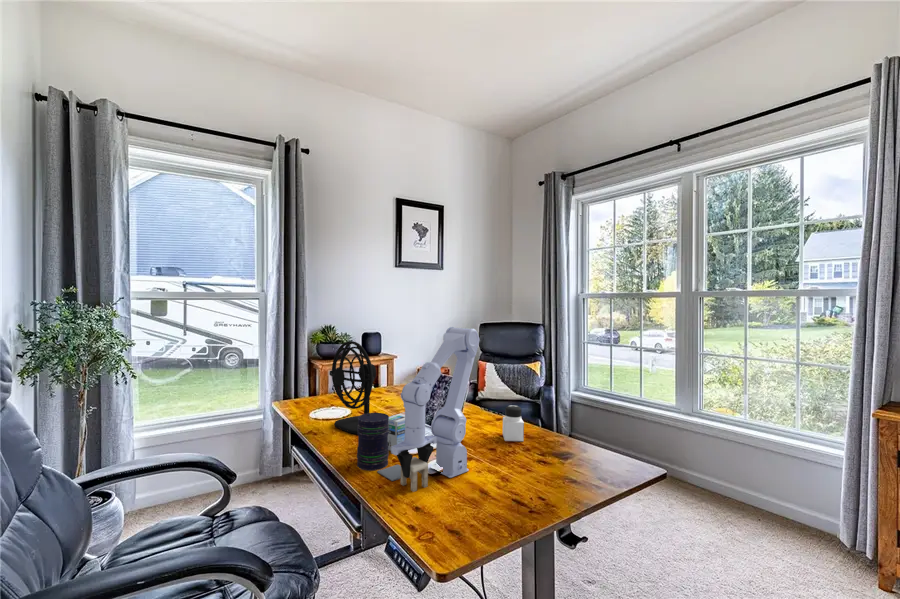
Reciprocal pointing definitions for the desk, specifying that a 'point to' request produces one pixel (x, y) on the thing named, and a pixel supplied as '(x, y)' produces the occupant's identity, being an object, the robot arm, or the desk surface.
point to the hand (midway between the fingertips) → (414, 473)
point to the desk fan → (367, 377)
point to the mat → (391, 472)
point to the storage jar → (372, 441)
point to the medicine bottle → (513, 424)
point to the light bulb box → (396, 429)
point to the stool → (416, 467)
